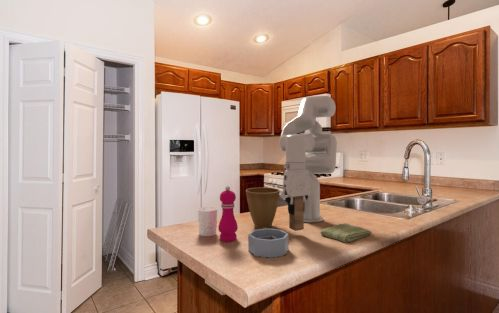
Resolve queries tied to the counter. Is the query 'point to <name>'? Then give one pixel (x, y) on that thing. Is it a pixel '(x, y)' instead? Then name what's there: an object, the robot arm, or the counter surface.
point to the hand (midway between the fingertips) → (296, 212)
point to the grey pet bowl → (268, 242)
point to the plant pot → (262, 205)
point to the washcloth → (345, 232)
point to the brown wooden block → (297, 214)
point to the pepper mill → (227, 216)
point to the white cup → (207, 221)
